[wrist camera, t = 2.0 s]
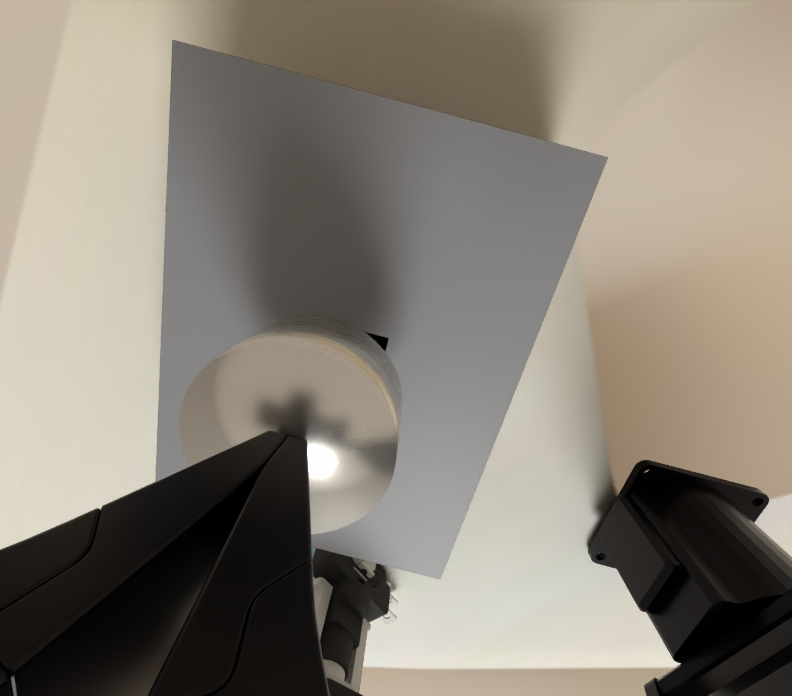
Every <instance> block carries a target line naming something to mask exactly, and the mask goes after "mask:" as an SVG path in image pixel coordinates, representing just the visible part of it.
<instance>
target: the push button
mask: <svg viewBox="0 0 792 696" xmlns="http://www.w3.org/2000/svg"><path fill="white" fill-rule="evenodd" d="M312 564H313V583H314V596H315V608H316V618H317V625H318V631H319V638H320V645H321V651H322V657H323V662H324V667H325V673H326V678H327V684H328V689H329V694H330V696H363V695H361V694H359V689H360V682H361V675H362V667H363V660H364V653H365V646H366V638H367V635H368V634H369V633H370V623H369V622H371V621H373V620H375V619H377V618H379V617H380V618H381V619H382V620H383V621H384V622H385V623H386V624H388V623H390V622H393V621H395V620H396V619H397V617H396V616H395V615H394V614H393V613H392V612H391V611H390V610H389V608H391V607H393V606H395V605H397V603H398V601H397V600H396V599H395V598H394V597H393V596H392V595H391V594H390V588H389V586H388V584H387V583H386V580H387V577H386V573H385V572H384V570H383V569H382V568H381V567H380V566H379V565H378V564H377V563H373V562H369V561H365V560H361V559H357V558H354V557H350V556H346V555H342V554H338V553H334V552H330V551H326V550H322V549H318V548H314V547H312ZM389 599H391V602H389ZM385 614H389V615H390V617H389V618H386V617H384V616H383V615H385Z"/></svg>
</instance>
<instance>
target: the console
mask: <svg viewBox="0 0 792 696" xmlns="http://www.w3.org/2000/svg"><path fill="white" fill-rule="evenodd" d="M607 159H608V157H605V156H601V155H597V154H593V153H590V152H586V151H582V150H579V149H575V148H571V147H568V146H564V145H560V144H557V143H553V142H549V141H545V140H542V139H538V138H534V137H531V136H527V135H523V134H520V133H516V132H512V131H508V130H505V129H501V128H497V127H494V126H490V125H486V124H482V123H479V122H475V121H471V120H468V119H464V118H460V117H457V116H453V115H449V114H445V113H442V112H438V111H434V110H431V109H427V108H423V107H420V106H416V105H412V104H408V103H405V102H401V101H397V100H394V99H390V98H386V97H383V96H379V95H375V94H371V93H368V92H364V91H360V90H357V89H353V88H349V87H346V86H342V85H338V84H334V83H331V82H327V81H323V80H320V79H316V78H312V77H309V76H305V75H301V74H297V73H294V72H290V71H286V70H283V69H279V68H275V67H271V66H268V65H264V64H260V63H257V62H253V61H249V60H246V59H242V58H238V57H234V56H231V55H227V54H223V53H220V52H216V51H212V50H209V49H205V48H201V47H197V46H194V45H190V44H186V43H183V42H179V41H175V40H172V66H171V92H170V118H169V144H168V170H167V196H166V222H165V248H164V274H163V301H162V327H161V353H160V379H159V405H158V431H157V457H156V481H158V480H161V479H163V478H165V477H167V476H170V475H172V474H174V473H176V472H178V471H181V470H183V469H185V468H187V467H189V465H188V463H187V461H186V459H185V456H184V453H183V450H182V446H181V441H180V435H179V416H180V409H181V405H182V402H183V399H184V396H185V394H186V392H187V390H188V388H189V386H190V384H191V383H192V381H193V380H194V378H195V377H196V376H197V374H198V373H199V372H200V371H201V370H202V369H203V368H204V367H205V366H206V365H208V364H209V363H210V362H212V361H213V360H215V359H216V358H217V357H219V356H220V355H222V354H223V353H225V352H226V351H228V350H230V349H231V348H233V347H234V346H236V345H237V344H239V343H240V342H242V341H243V340H245V339H246V338H248V337H249V336H251V335H252V334H254V333H256V332H257V331H259V330H260V329H262V328H263V327H265V326H266V325H268V324H270V323H272V322H274V321H277V320H279V319H282V318H285V317H290V316H295V315H306V314H312V315H323V316H328V317H333V318H336V319H339V320H342V321H345V322H347V323H349V324H351V325H353V326H355V327H357V328H359V329H360V330H362V331H364V332H368V333H371V334H375V335H379V336H383V337H387V338H389V339H388V343H387V347H386V351H385V353H386V354H387V355H388V357H389V358H390V360H391V361H392V363H393V365H394V367H395V369H396V371H397V374H398V377H399V380H400V384H401V388H402V398H403V402H402V414H401V423H400V432H399V440H398V449H397V457H396V465H395V469H394V474H393V477H392V480H391V482H390V485H389V487H388V489H387V491H386V492H385V494H384V496H383V497H382V498H381V500H380V501H379V502H378V503H377V505H376V506H375V507H374V508H373V509H372V510H371V511H369V512H368V513H367V514H366V515H364V516H363V517H362V518H360V519H359V520H357V521H355V522H353V523H351V524H350V525H348V526H345V527H343V528H340V529H337V530H334V531H330V532H325V533H319V534H311V540H312V547H314V548H318V549H322V550H326V551H330V552H334V553H338V554H342V555H346V556H350V557H354V558H357V559H361V560H365V561H369V562H373V563H377V564H381V565H385V566H389V567H393V568H397V569H401V570H405V571H409V572H413V573H417V574H421V575H425V576H429V577H433V578H436V579H441V576H442V574H443V571H444V569H445V566H446V564H447V561H448V559H449V556H450V554H451V551H452V549H453V546H454V544H455V541H456V539H457V536H458V533H459V531H460V528H461V526H462V523H463V521H464V518H465V516H466V513H467V511H468V508H469V506H470V503H471V501H472V498H473V496H474V493H475V491H476V488H477V486H478V483H479V481H480V478H481V476H482V473H483V471H484V468H485V466H486V463H487V461H488V458H489V456H490V453H491V451H492V448H493V445H494V443H495V440H496V438H497V435H498V433H499V430H500V428H501V425H502V423H503V420H504V418H505V415H506V413H507V410H508V408H509V405H510V403H511V400H512V398H513V395H514V393H515V390H516V388H517V385H518V383H519V380H520V378H521V375H522V373H523V370H524V368H525V365H526V363H527V360H528V358H529V355H530V352H531V350H532V347H533V345H534V342H535V340H536V337H537V335H538V332H539V330H540V327H541V325H542V322H543V320H544V317H545V315H546V312H547V310H548V307H549V305H550V302H551V300H552V297H553V295H554V292H555V290H556V287H557V285H558V282H559V280H560V277H561V275H562V272H563V270H564V267H565V264H566V262H567V259H568V257H569V254H570V252H571V249H572V247H573V244H574V242H575V239H576V237H577V234H578V232H579V229H580V227H581V224H582V222H583V219H584V217H585V214H586V212H587V209H588V207H589V204H590V202H591V199H592V197H593V194H594V191H595V189H596V186H597V184H598V181H599V179H600V176H601V174H602V171H603V169H604V166H605V164H606V161H607Z"/></svg>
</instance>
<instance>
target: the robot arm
mask: <svg viewBox="0 0 792 696" xmlns="http://www.w3.org/2000/svg"><path fill="white" fill-rule="evenodd" d="M648 469H649V471H648V472H646V473H644V472H645V471H646V470H648ZM768 502H769V498H768V497H767V495H765V494H764V493H763V492H762V491H761V490H759V489H757V488H754V487H750V486H746V485H742V484H738V483H734V482H730V481H726V480H723V479H719V478H715V477H711V476H707V475H704V474H700V473H696V472H692V471H688V470H684V469H680V468H676V467H673V466H669V465H665V464H661V463H657V462H653V461H650V460H643V461H640V462H639V463H637V464H636V465H635V466H634V468H633V470H632V472H631V474H630V475H629V477H628V479H627V481H626V483H625V484H624V486H623V488H622V490H621V491H620V493H619V495H618V497H617V498H616V500H615V502H614V504H613V506H612V507H611V509H610V511H609V513H608V514H607V516H606V518H605V520H604V522H603V523H602V525H601V527H600V529H599V531H598V532H597V534H596V536H595V538H594V539H593V541H592V543H591V545H590V547H589V549H588V554H589V556H590V558H591V560H592V561H593V562H594V563H597V564H601V565H605V566H608V567H612V568H616V569H617V570H618V572H619V574H620V575H621V577H622V579H623V581H624V583H625V584H626V586H627V588H628V590H629V592H630V593H631V595H632V597H633V599H634V601H635V602H636V604H637V606H638V608H639V609H640V610H641V611H643V612H646V613H647V614H648V616H649V617H650V619H651V621H652V623H653V624H654V626H655V628H656V630H657V631H658V633H659V635H660V637H661V638H662V640H663V642H664V644H665V645H666V647H667V649H668V651H669V652H670V654H671V656H672V658H673V659H674V661H676V662H678V663H682V664H680V665H679V666H677V667H676V668H674V669H673V670H671V671H670V672H668V673H667V674H665V675H664V676H662V677H661V678H660V679H656V678H654V679H652V680H651V681H649V682H648V683H646V684H645V685H644V688H645V691H646V695H647V696H792V557H791V556H790V555H789V554H787V553H786V552H785V551H784V550H783V549H782V548H781V547H780V546H779V545H778V544H776V543H775V542H774V541H773V540H772V539H771V538H770V537H769V536H768V535H767V534H765V533H764V532H763V531H762V530H761V529H760V528H759V527H758V526H757V525H756V524H754V522H755V521H756V519H757V518H758V517H759V515H760V514H761V513H762V511H763V510H764V509H765V507H766V506H767V504H768ZM599 553H600V554H599ZM0 696H330V694H329V689H328V684H327V678H326V673H325V667H324V662H323V657H322V651H321V645H320V638H319V631H318V625H317V618H316V608H315V596H314V583H313V564H312V540H311V515H310V491H309V467H308V443H307V440H305V439H302V438H298V437H294V436H289V437H287V435H286V434H282V433H278V432H274V431H267V432H264V433H262V434H260V435H258V436H256V437H253V438H251V439H249V440H247V441H245V442H242V443H240V444H238V445H236V446H234V447H231V448H229V449H227V450H225V451H222V452H220V453H218V454H216V455H214V456H211V457H209V458H207V459H205V460H203V461H200V462H198V463H196V464H194V465H192V466H189V467H187V468H185V469H183V470H181V471H178V472H176V473H174V474H172V475H170V476H167V477H165V478H163V479H161V480H158V481H156V482H154V483H152V484H150V485H147V486H145V487H143V488H141V489H139V490H136V491H134V492H132V493H130V494H128V495H125V496H123V497H121V498H119V499H117V500H114V501H112V502H110V503H108V504H106V505H103V506H102V508H101V510H100V509H98V508H97V509H94V510H92V511H90V512H88V513H85V514H83V515H81V516H79V517H76V518H74V519H72V520H70V521H68V522H65V523H63V524H61V525H58V526H56V527H54V528H51V529H49V530H47V531H44V532H42V533H40V534H37V535H35V536H33V537H31V538H28V539H26V540H23V541H21V542H18V543H16V544H13V545H11V546H8V547H6V548H3V549H1V550H0Z"/></svg>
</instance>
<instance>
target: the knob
mask: <svg viewBox="0 0 792 696" xmlns="http://www.w3.org/2000/svg"><path fill="white" fill-rule="evenodd" d="M402 402H403V398H402V388H401V384H400V380H399V377H398V374H397V371H396V369H395V367H394V365H393V363H392V361H391V360H390V358H389V357H388V355H387V354H386V353H385V351H384V350H383V349H382V348H381V346H380V345H379V344H378V343H377V337H376V335H375V334H371V333H368V332H364V331H362V330H360V329H359V328H357V327H355V326H353V325H351V324H349V323H347V322H345V321H342V320H339V319H336V318H333V317H328V316H323V315H312V314H306V315H295V316H290V317H285V318H282V319H279V320H277V321H274V322H272V323H270V324H268V325H266V326H265V327H263V328H262V329H260V330H259V331H257V332H256V333H254V334H252V335H251V336H249V337H248V338H246V339H245V340H243V341H242V342H240V343H239V344H237V345H236V346H234V347H233V348H231V349H230V350H228V351H226V352H225V353H223V354H222V355H220V356H219V357H217V358H216V359H215V360H213V361H212V362H210V363H209V364H208V365H206V366H205V367H204V368H203V369H202V370H201V371H200V372H199V373H198V374H197V376H196V377H195V378H194V380H193V381H192V383H191V384H190V386H189V388H188V390H187V392H186V394H185V396H184V399H183V402H182V405H181V409H180V416H179V435H180V441H181V446H182V450H183V453H184V456H185V459H186V461H187V463H188V465H189V466H192V465H194V464H196V463H198V462H200V461H203V460H205V459H207V458H209V457H211V456H214V455H216V454H218V453H220V452H222V451H225V450H227V449H229V448H231V447H234V446H236V445H238V444H240V443H242V442H245V441H247V440H249V439H251V438H253V437H256V436H258V435H260V434H262V433H264V432H267V431H274V432H278V433H282V434H286V435H287V437H289V436H294V437H298V438H302V439H305V440H307V443H308V467H309V491H310V515H311V534H319V533H325V532H330V531H334V530H337V529H340V528H343V527H345V526H348V525H350V524H351V523H353V522H355V521H357V520H359V519H360V518H362V517H363V516H364V515H366V514H367V513H368V512H369V511H371V510H372V509H373V508H374V507H375V506H376V505H377V503H378V502H379V501H380V500H381V498H382V497H383V496H384V494H385V492H386V491H387V489H388V487H389V485H390V482H391V480H392V477H393V474H394V469H395V465H396V457H397V449H398V440H399V432H400V423H401V414H402Z"/></svg>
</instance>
